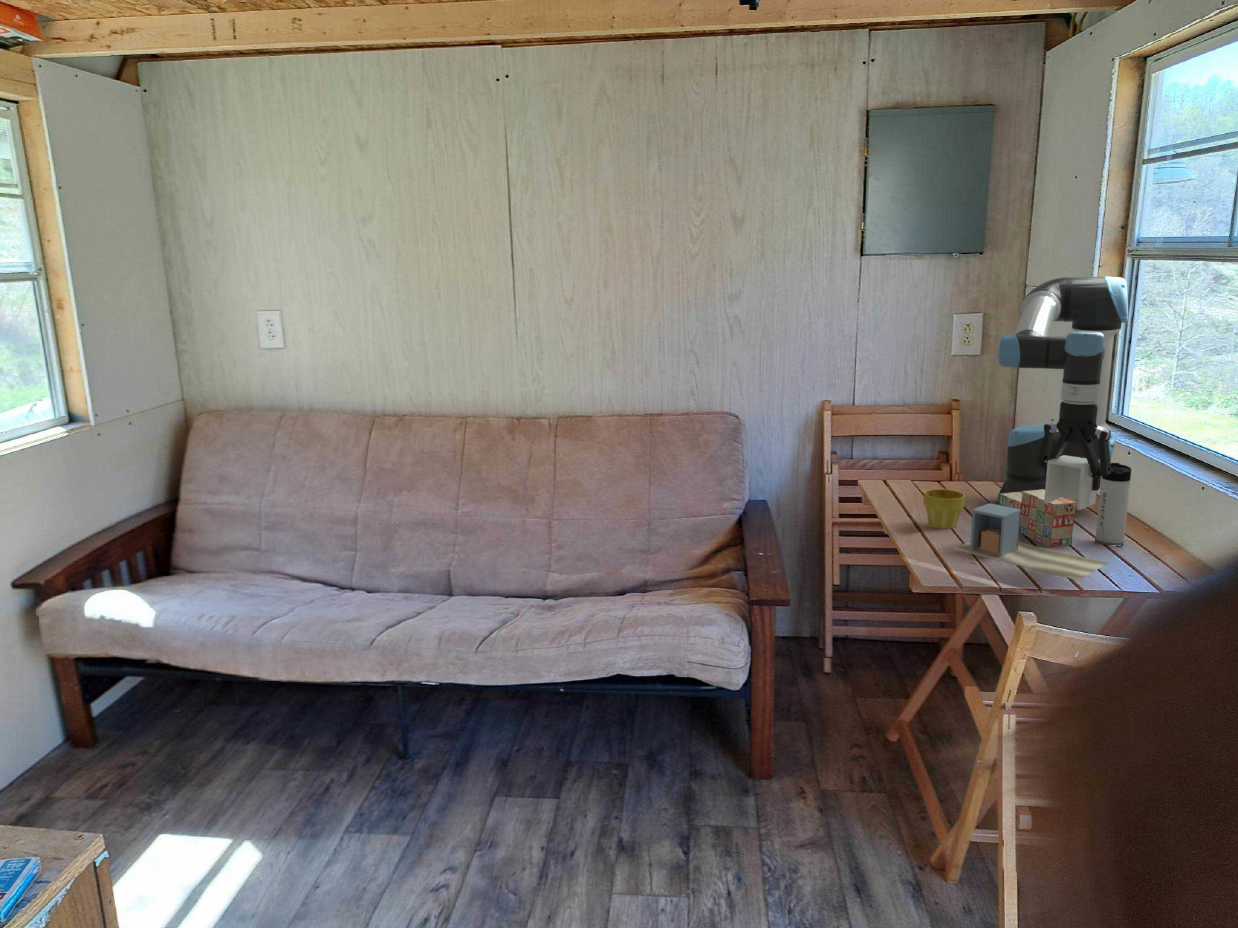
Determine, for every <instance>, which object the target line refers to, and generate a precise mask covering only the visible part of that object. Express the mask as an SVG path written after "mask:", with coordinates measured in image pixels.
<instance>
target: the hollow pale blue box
mask: <svg viewBox="0 0 1238 928" xmlns="http://www.w3.org/2000/svg"><path fill="white" fill-rule="evenodd" d="M1020 516H1021V510H1020V509H1015V508H1010V507H1005V506H1000V505H998V504H995V503H990V502H989V503H987V504H984V505H981V506H979V507H976V508H974V509H972V515H971V529H970V530H971V532H970V541H971V543H970V549H974V548H977V547H979V546H981V534H982V531H984V530H986V529H988V528H996V529H1000V530H1001V538H1000V551H999V556H1001V557H1002V556H1004V555H1006V554H1008V553H1010V552H1012V551H1014V550H1017V549H1018V542H1020V541H1019V539H1020V533H1019V528H1020Z"/></svg>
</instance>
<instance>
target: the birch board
mask: <svg viewBox="0 0 1238 928" xmlns="http://www.w3.org/2000/svg"><path fill="white" fill-rule="evenodd" d="M970 543H971V540H970V541H968V542H965V543H962V544H960V545H958V546H956V547H952V550H955V551H959V552H964V553H967V554H971V555H975V556H979V557H983V558H987V559H991V560H995V561H999V562H1002V563H1007V564H1011V565H1015V566H1019V567H1023V568H1027V569H1031V570H1036V571H1040V572H1043V573H1047V574H1050V575H1051V574H1052V575H1055V576H1060V577H1064V578H1066V579H1071V580H1075V581H1079V580H1081V579H1083V578H1085V577H1086V576H1088V575H1090V574H1092V573H1094V572H1096V571H1097V570H1099V569H1101V568H1103V567H1105V566H1106V565H1109V562H1106V561H1102V560H1097V559H1092V558H1089V557H1085V556H1080V555H1075V554H1072V553H1067V552H1063V551H1058V550H1054V549H1050V548H1045V547H1041V546H1037V545H1032V544H1028V543H1024V542H1020V541H1018V549H1017V550H1014V551H1012V552H1010V553H1008V554H1006V555H1004V556H1002V557H1001V556H999V553H996V552H991V551H987V550H983V549H981V546H979V547H977V548H974V549H970Z"/></svg>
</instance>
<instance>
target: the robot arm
mask: <svg viewBox="0 0 1238 928" xmlns="http://www.w3.org/2000/svg"><path fill="white" fill-rule="evenodd" d="M1128 295H1129V293H1128V285H1127V281H1126V279H1124V278H1123V277H1119V276H1118V277H1117V276H1087V277H1086V276H1082V277H1079V276H1077V277H1076V276H1075V277H1067V276H1065V277H1058V278H1053V279H1051V280H1047V281H1045V282H1043V283H1041V284H1039V285H1038V286H1036V287H1034V288H1033V289H1032V290H1030V291H1029V292H1028V293H1027V294H1026V295H1025V296H1024V298H1023V300H1022V302H1021V306H1020V314H1021V316H1020V320H1019V322H1018V324H1017V326H1016V329H1015V332H1014V334H1012V335H1004V336H1002V337H1001V338H1000V341H999V346H998V363H999V365H1000V367H1003V368H1012V369H1013V368H1014V369H1044V370H1045V369H1046V370H1047V369H1050V370H1063V372H1062V373H1063V375H1062V380H1061V393H1060V400H1062V401H1061V402H1059V403H1060V404H1059V412H1058V413H1059V414H1058V418H1059V419H1058V422H1056V423H1053V422H1049V423H1046V424H1032V425H1031V424H1030V425H1023V426H1018V427H1015V428H1013V429H1011V431H1010V432H1009V435H1008V440H1007V441H1008V442H1007V445H1006V446H1007V457H1006V458H1007V459H1006V468H1005V469H1006V470H1005V478H1004V481H1003V483H1002V485H1001V487H1000V490H999V492H998V494H997V498H996V499H997V501H996V505H999V497H1000V494H1003V493H1012V492H1021V493H1022V491H1032V490H1041V489H1043V490H1045V486H1046V475H1047V463H1048V461H1049V460H1051V459H1056V458H1059V457H1060V456H1063V455H1066V456H1073V457H1079V458H1086V459H1087V461H1088V464H1090V470H1091V473H1092V475H1091V476H1088V485H1087V496H1086V505H1090V506H1092V505H1091V504H1093V503H1094V500H1095V491H1100V488H1101V480H1102V476H1103V475H1107V474H1110V473H1111V463H1112V462H1111V461H1112V457H1113V454H1114V451H1115V450H1114V448H1115V444H1116V440H1117V436H1116V435H1115V434H1112V428H1111V426H1109V425H1108V424H1107V423H1106V420H1107V419H1106V418H1107V410H1108V409H1107V408H1108V399H1109V397H1108V396H1109V388H1110V387H1109V386H1110V379H1111V368H1112V357H1113V348H1114V347H1113V346H1114V337H1115V335H1116V334H1117V333H1118V332H1119V331H1122V324H1125V323H1127V322H1128V321H1129V300H1128V299H1129V298H1128ZM1054 322H1070V323H1072V324H1071V330H1072V331H1071V332H1069V333H1067V335H1066V336H1050V332H1051V329H1052V326H1053V323H1054ZM1057 430H1058V431H1057ZM1098 460H1100V464H1099V461H1098ZM1093 505H1094V504H1093Z"/></svg>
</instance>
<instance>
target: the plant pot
mask: <svg viewBox="0 0 1238 928" xmlns="http://www.w3.org/2000/svg"><path fill="white" fill-rule="evenodd" d="M965 503H966V494H965V493H964V492H961V491H960V490H955V489H950V488H930V489H927V490H925V491H924V493H923V505H924V506H925V510H926V514H927V524H928V527H929V529H931V528H935V529H941V530H942V529H945V530H947V529H948V530H950V529H955V528H956V527H957V525H958V521H959V519H960V515H961V511H962V510H963V509H964V508H965V505H966V504H965Z"/></svg>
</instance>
